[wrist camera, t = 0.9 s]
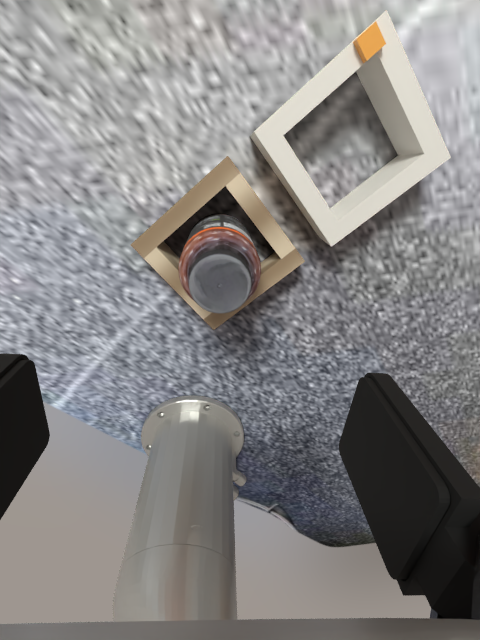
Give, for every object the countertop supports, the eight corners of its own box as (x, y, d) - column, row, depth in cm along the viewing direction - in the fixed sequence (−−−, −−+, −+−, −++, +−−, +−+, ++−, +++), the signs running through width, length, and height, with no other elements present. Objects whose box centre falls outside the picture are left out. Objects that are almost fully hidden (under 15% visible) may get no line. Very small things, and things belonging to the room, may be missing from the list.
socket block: (421, 158, 28) (456, 157, 23) (318, 236, 30) (333, 248, 26) (361, 33, 24) (391, 5, 19) (249, 136, 26) (254, 130, 22)
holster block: (297, 252, 31) (304, 261, 28) (214, 316, 33) (213, 330, 31) (227, 156, 27) (227, 155, 24) (139, 237, 29) (130, 244, 27)
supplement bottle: (217, 287, 32) (214, 344, 22) (175, 241, 30) (149, 282, 20) (264, 248, 30) (285, 291, 20) (223, 197, 28) (223, 216, 18)
